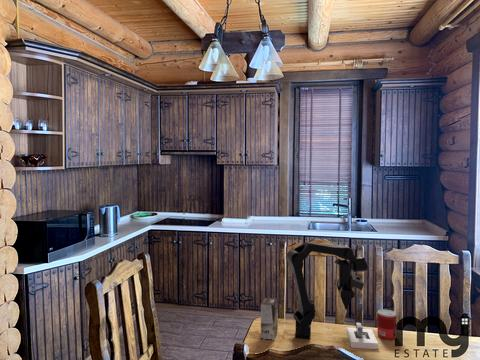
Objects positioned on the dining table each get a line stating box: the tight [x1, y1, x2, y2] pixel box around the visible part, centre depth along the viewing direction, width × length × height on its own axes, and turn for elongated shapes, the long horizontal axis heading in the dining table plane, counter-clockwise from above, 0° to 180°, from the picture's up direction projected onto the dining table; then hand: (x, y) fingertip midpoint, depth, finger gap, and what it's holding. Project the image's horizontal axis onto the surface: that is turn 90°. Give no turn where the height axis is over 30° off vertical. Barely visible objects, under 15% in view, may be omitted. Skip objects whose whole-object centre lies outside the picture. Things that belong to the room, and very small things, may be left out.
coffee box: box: [260, 297, 279, 341], centre depth 162 cm, size 9×6×16 cm
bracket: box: [355, 322, 368, 339], centre depth 156 cm, size 4×5×7 cm
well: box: [346, 327, 379, 350], centre depth 156 cm, size 11×14×2 cm
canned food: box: [376, 308, 397, 341], centre depth 160 cm, size 8×8×11 cm
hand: (345, 305), depth 166 cm, fingers open, 9 cm apart
